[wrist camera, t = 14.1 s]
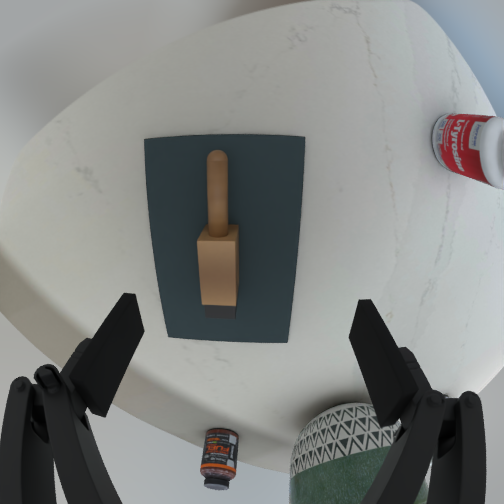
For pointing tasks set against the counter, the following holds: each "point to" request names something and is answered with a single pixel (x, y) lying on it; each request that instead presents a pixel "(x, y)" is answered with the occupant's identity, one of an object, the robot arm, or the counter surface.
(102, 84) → the counter surface
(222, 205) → the scrub brush
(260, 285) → the mat
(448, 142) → the pill bottle
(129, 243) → the counter surface
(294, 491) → the planter
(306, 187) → the counter surface
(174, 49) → the counter surface
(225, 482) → the supplement bottle
